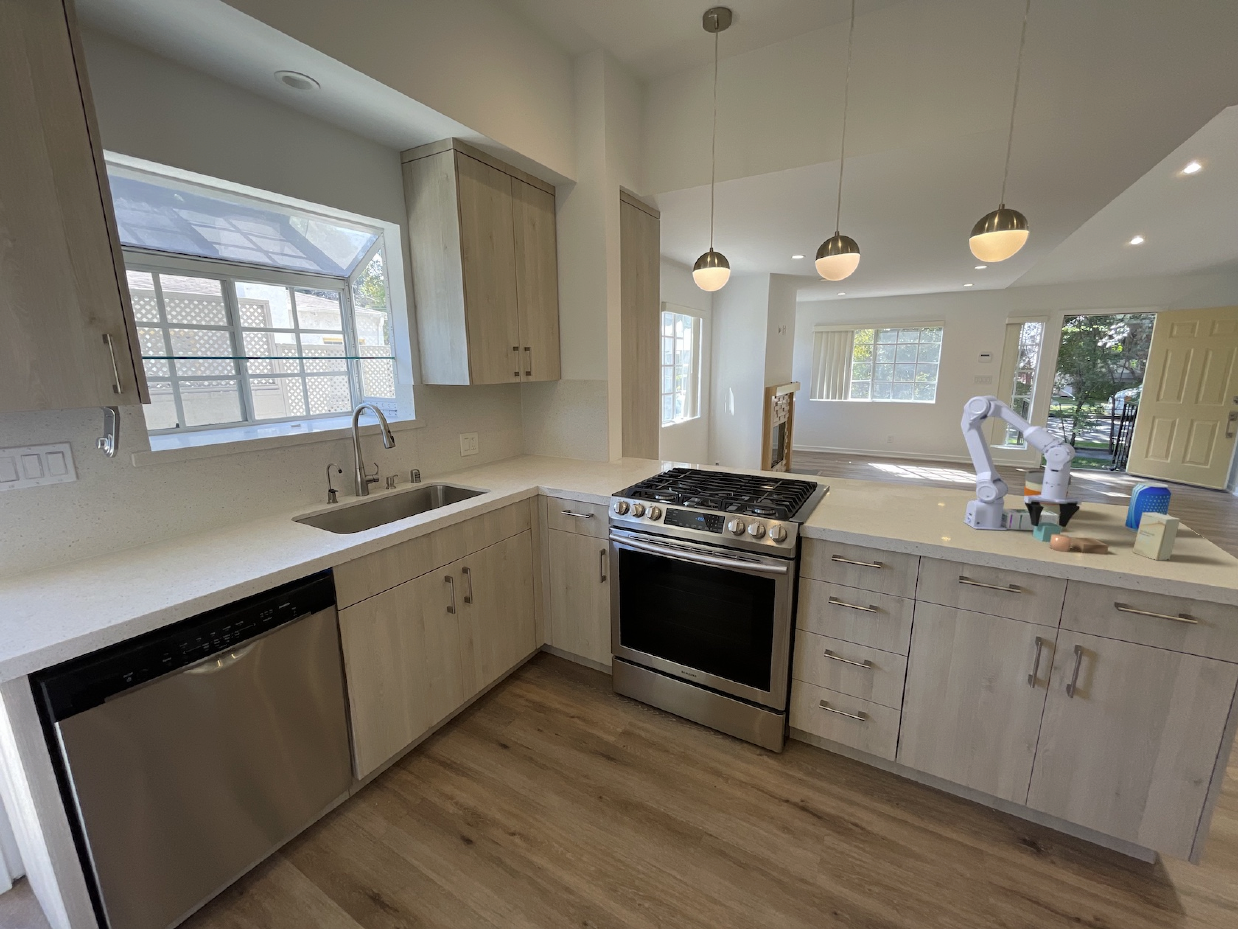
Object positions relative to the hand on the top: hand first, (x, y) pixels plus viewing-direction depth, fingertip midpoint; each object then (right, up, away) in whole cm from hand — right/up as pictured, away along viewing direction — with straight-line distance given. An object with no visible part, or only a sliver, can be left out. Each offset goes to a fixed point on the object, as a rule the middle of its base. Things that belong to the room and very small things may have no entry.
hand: (1048, 525), depth 151 cm
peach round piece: (-3, -6, -7) cm, 10 cm away
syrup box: (+10, 0, +10) cm, 14 cm away
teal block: (0, -4, +1) cm, 5 cm away
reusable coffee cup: (+21, +1, +26) cm, 33 cm away
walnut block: (+5, -6, -8) cm, 11 cm away
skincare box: (+18, -7, -13) cm, 23 cm away
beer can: (+36, -3, +7) cm, 37 cm away
